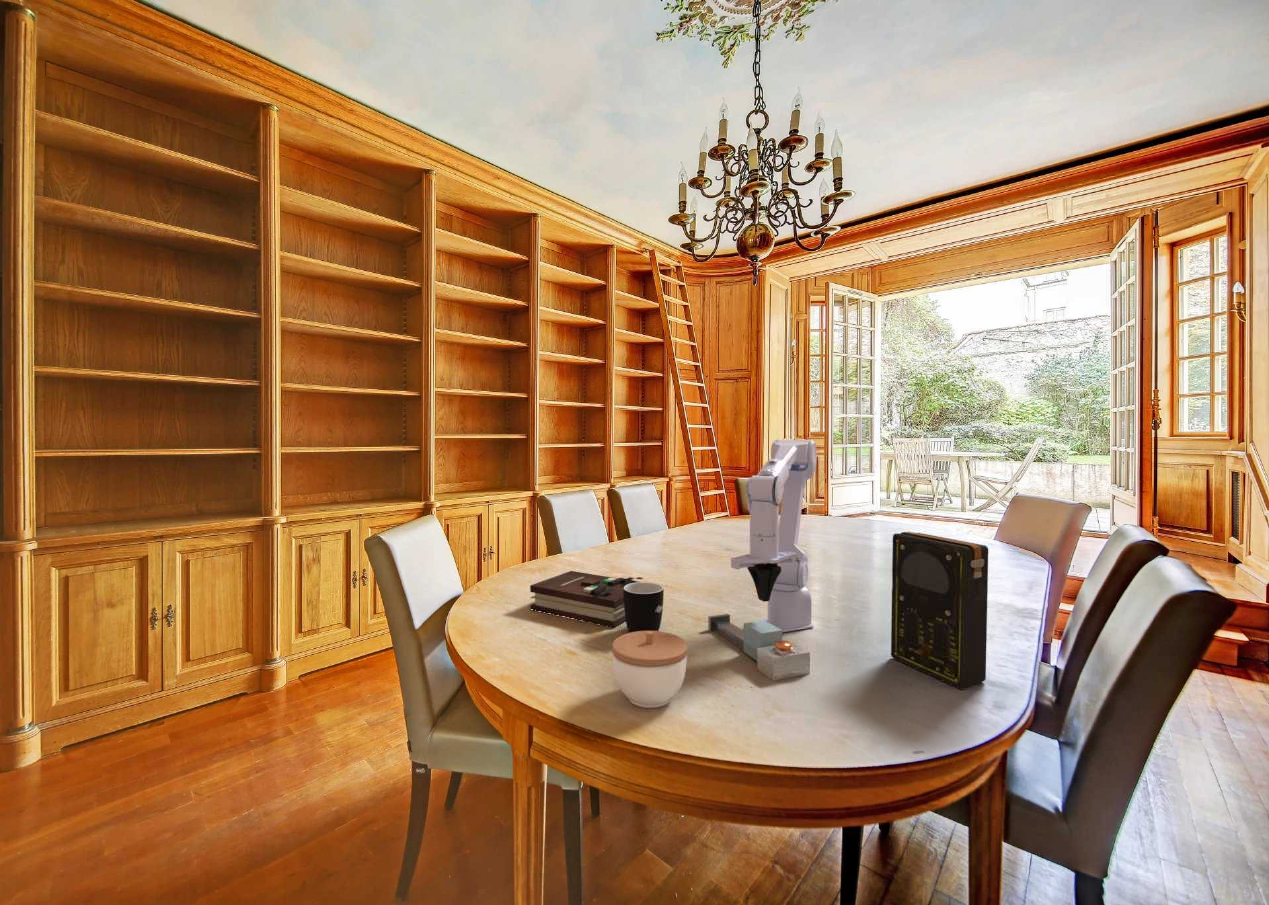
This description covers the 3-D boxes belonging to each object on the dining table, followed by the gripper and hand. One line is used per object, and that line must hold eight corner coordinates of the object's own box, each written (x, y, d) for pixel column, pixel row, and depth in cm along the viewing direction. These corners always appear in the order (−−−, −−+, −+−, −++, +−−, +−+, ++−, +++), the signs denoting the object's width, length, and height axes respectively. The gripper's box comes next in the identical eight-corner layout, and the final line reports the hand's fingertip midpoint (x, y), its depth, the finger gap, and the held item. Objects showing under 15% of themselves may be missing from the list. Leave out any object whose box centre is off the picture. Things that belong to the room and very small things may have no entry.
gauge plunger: (785, 665, 102) (785, 639, 101) (795, 672, 99) (796, 645, 98) (770, 668, 100) (771, 641, 100) (781, 675, 97) (781, 647, 97)
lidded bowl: (611, 681, 96) (611, 620, 95) (680, 679, 96) (681, 618, 96) (613, 718, 83) (613, 648, 83) (693, 715, 84) (693, 646, 84)
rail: (727, 626, 123) (727, 613, 123) (787, 665, 102) (787, 649, 102) (708, 629, 121) (708, 616, 121) (765, 669, 100) (765, 653, 100)
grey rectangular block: (792, 662, 103) (792, 642, 103) (809, 673, 99) (809, 652, 98) (757, 669, 100) (757, 648, 100) (773, 680, 96) (773, 658, 96)
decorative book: (567, 565, 151) (660, 580, 136) (567, 592, 151) (660, 609, 136) (519, 581, 135) (620, 600, 119) (519, 611, 135) (620, 634, 119)
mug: (659, 641, 114) (659, 594, 114) (618, 638, 116) (618, 591, 116) (668, 622, 126) (668, 579, 125) (631, 619, 128) (631, 577, 127)
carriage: (763, 648, 109) (763, 620, 109) (781, 659, 104) (782, 630, 104) (743, 651, 108) (743, 623, 107) (760, 663, 102) (761, 633, 102)
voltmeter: (885, 658, 105) (886, 532, 105) (916, 651, 109) (918, 529, 108) (960, 693, 91) (963, 547, 90) (993, 684, 94) (996, 543, 94)
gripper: (744, 540, 103) (744, 610, 103) (805, 534, 108) (805, 601, 109) (725, 534, 109) (725, 599, 110) (783, 529, 115) (783, 591, 115)
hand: (763, 600), depth 110 cm, fingers closed
